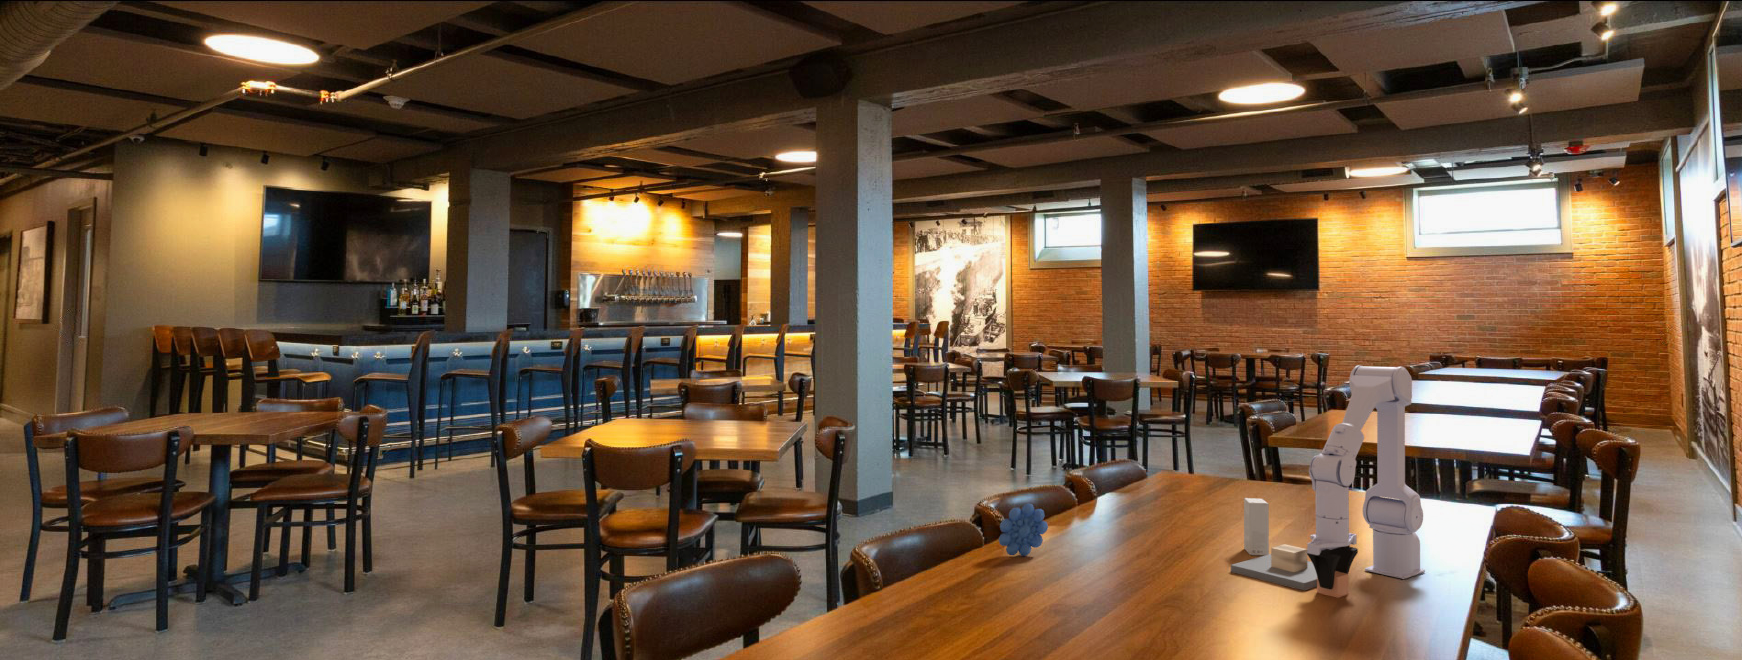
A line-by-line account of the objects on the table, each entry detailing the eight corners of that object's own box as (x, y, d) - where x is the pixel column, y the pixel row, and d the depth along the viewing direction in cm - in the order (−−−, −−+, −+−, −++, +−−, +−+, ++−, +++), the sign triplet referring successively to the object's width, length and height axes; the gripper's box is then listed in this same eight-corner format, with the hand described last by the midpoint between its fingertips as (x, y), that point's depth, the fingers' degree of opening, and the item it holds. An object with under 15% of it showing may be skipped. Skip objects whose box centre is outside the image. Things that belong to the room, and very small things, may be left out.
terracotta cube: (1328, 589, 170) (1327, 569, 170) (1348, 594, 167) (1348, 573, 167) (1317, 592, 168) (1317, 572, 168) (1337, 598, 165) (1337, 577, 165)
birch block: (1284, 562, 183) (1284, 544, 183) (1307, 568, 179) (1307, 549, 179) (1271, 566, 181) (1271, 547, 181) (1294, 572, 177) (1294, 552, 177)
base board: (1273, 559, 191) (1273, 553, 191) (1346, 576, 178) (1346, 569, 178) (1230, 571, 182) (1230, 564, 182) (1304, 590, 169) (1304, 583, 169)
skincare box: (1269, 556, 195) (1269, 503, 195) (1249, 555, 195) (1249, 502, 195) (1262, 549, 201) (1262, 498, 200) (1243, 548, 201) (1243, 497, 201)
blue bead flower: (1041, 549, 202) (1041, 499, 202) (1051, 557, 195) (1051, 504, 195) (993, 552, 200) (993, 500, 200) (1002, 560, 194) (1001, 506, 194)
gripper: (1331, 508, 175) (1331, 574, 175) (1291, 517, 167) (1292, 587, 167) (1367, 514, 169) (1367, 583, 169) (1328, 524, 161) (1328, 596, 161)
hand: (1332, 585), depth 167 cm, fingers open, 4 cm apart
